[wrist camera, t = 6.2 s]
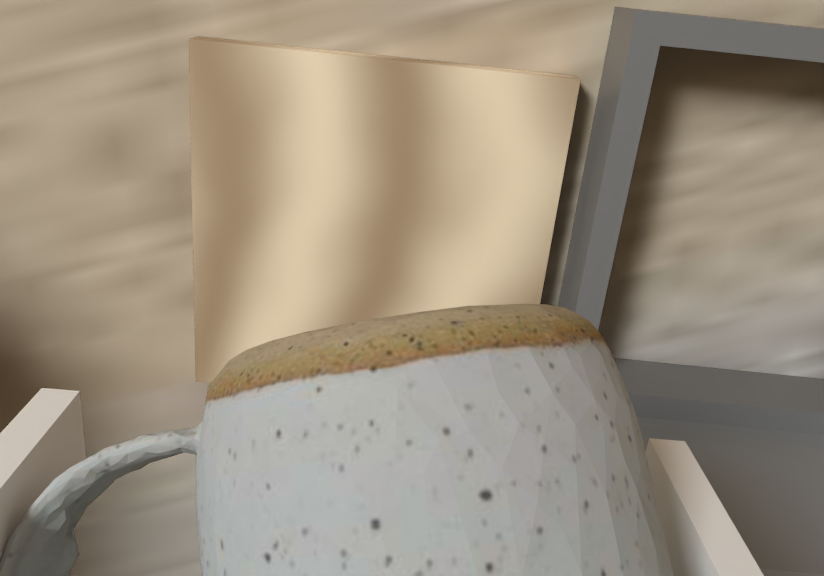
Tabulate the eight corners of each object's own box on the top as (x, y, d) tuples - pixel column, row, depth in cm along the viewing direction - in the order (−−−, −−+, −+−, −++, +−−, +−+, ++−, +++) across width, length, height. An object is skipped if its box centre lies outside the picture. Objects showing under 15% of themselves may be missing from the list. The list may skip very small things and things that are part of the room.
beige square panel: (204, 367, 32) (195, 381, 31) (198, 36, 27) (188, 38, 26) (517, 399, 33) (520, 413, 31) (574, 75, 27) (580, 79, 26)
